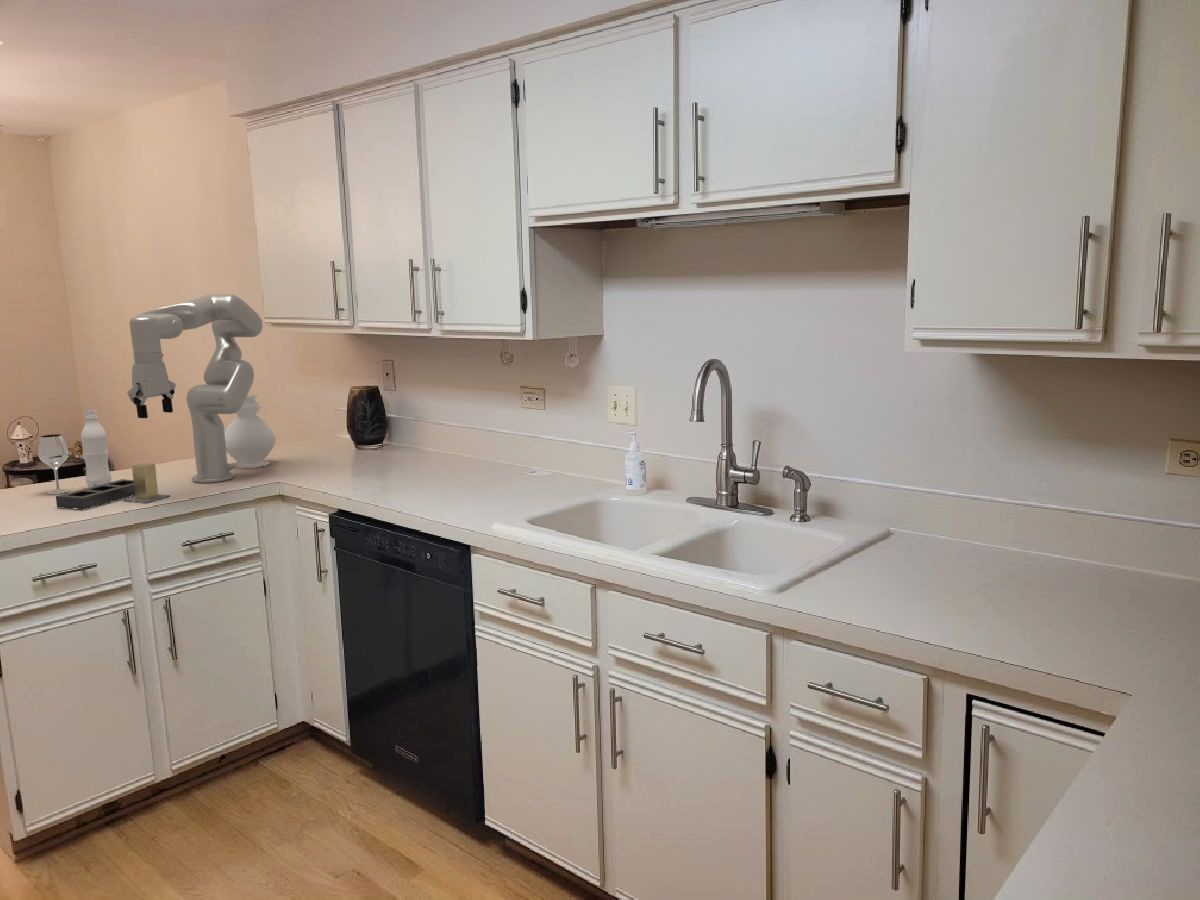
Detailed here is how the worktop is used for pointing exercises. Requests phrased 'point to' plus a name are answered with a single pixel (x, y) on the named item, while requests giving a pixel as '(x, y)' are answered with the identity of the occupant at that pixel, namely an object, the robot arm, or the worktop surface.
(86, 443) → the water bottle
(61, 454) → the wineglass
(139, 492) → the brass peg
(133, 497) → the grey rubber mat
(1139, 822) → the worktop surface
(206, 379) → the robot arm
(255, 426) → the decorative vase
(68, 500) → the dark grey compartment tray
